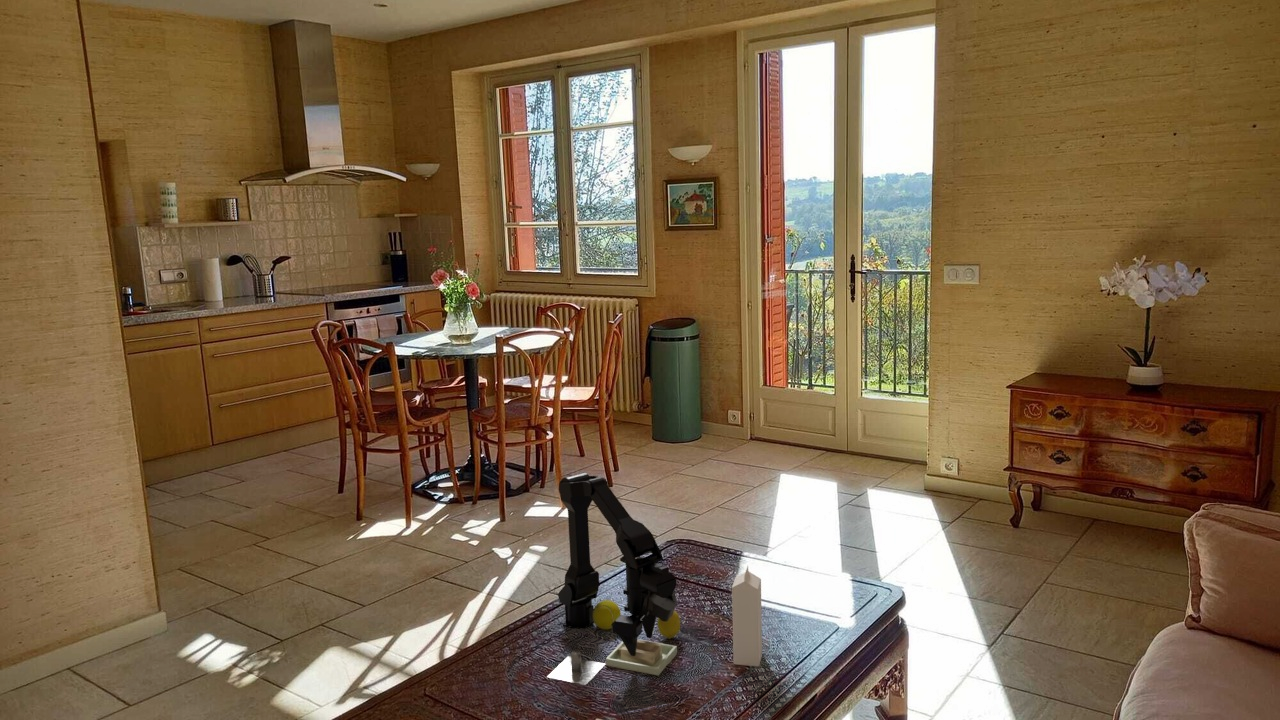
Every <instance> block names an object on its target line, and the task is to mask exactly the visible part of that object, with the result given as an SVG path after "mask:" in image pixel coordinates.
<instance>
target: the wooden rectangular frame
mask: <svg viewBox="0 0 1280 720" xmlns="http://www.w3.org/2000/svg"><path fill="white" fill-rule="evenodd" d="M643 640H644V639H640V640H638V638H637V648H636V655H635V656H631V655H630V653H629V651H628V650H627V648H626V646H625V645H624V646H623V647H622V646H620V648H619V649H618V656H621V660H622V661H627V662H633V663H638V664H643V665H648V666H654V665H655V664H656V663H657V661H658V660H659V659H660V658H661V657H662V644H663V643H662V644H660V643H661V642H657V643H654V642H655V641H651V642H649V641H650V640H645V641H643Z"/></svg>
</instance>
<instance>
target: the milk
mask: <svg viewBox="0 0 1280 720" xmlns="http://www.w3.org/2000/svg"><path fill="white" fill-rule="evenodd" d="M731 609H732V617H731V618H732V650H733V651H732V652H733V653H732V654H733V655H732V656H733V657H732V658H733V659H732V661H733V665H739V666H750V667H760V665H761V661H762V655H763V634H762V633H763V629H762V628H763V627H762V624H763V621H762V620H763V619H762V579H761V577H759V576H757V575H756V574H754V573H752V572H751V571H749V565H747V567H746V569H745V572H743V573H741V574H739V575H736V576H735V577H734V581H733V583H732V586H731Z"/></svg>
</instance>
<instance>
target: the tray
mask: <svg viewBox="0 0 1280 720" xmlns="http://www.w3.org/2000/svg"><path fill="white" fill-rule="evenodd" d="M637 639H638V638H637ZM638 640H641V639H638ZM642 640H643V641H646V640H645V639H642ZM648 641H649V642H652V641H650V640H648ZM653 642H654V643H658V642H657V641H653ZM659 643H660V644H662V657H661V658H660V659H659V660H658V661H657V663H656V664H655V665H654V666H648V665H643V664H638V663H633V662H627V661H622V660H621V656H618V649H619V648H620V646H622V647H623V646H624V643H623V641H622V640H621V642H620V643H619V644H618V645H617V646H616V647H615V648H614V650H613V651H612V652H611V653H610V654H609V655H608V656H607V657H606V658H605V665H606V666H608V667H612V668H617V669H623V670H629V671H633V672H638V673H643V674H648V675H653V676H660V674H661V673H662V672H663V671H664V670H665V668H666V667H667V666H668V665H669V664H671V663H672V661H673V659H675V657H676V656H677V654H678V646H677V645H673V644H667V643H662V642H659Z"/></svg>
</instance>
